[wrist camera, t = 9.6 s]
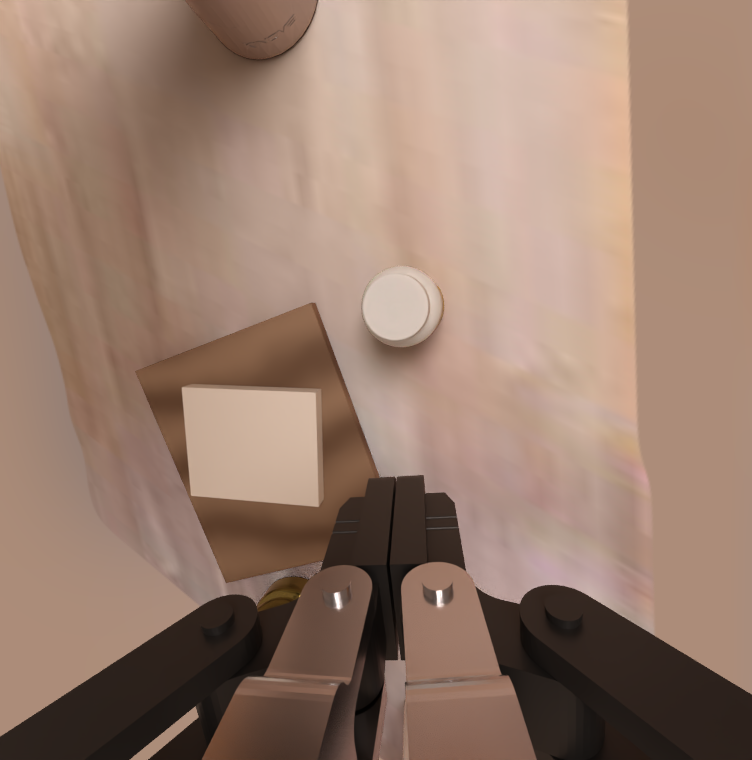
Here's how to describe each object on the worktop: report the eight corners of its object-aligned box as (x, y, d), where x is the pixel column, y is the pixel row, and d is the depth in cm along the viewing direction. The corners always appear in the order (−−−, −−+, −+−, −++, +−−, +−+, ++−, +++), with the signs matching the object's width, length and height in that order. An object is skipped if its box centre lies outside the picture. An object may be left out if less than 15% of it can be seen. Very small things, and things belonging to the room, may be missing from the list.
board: (144, 369, 39) (135, 371, 38) (315, 303, 35) (310, 302, 34) (232, 575, 42) (226, 582, 41) (401, 535, 38) (399, 542, 37)
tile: (321, 388, 35) (192, 383, 37) (315, 392, 34) (181, 387, 36) (324, 498, 37) (200, 488, 39) (318, 506, 36) (191, 495, 38)
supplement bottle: (457, 310, 34) (460, 313, 24) (406, 352, 35) (390, 371, 26) (414, 258, 33) (400, 241, 24) (365, 302, 35) (333, 303, 25)
